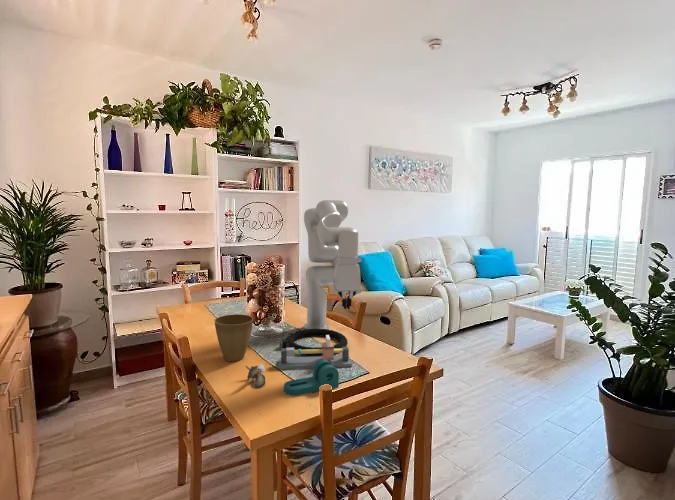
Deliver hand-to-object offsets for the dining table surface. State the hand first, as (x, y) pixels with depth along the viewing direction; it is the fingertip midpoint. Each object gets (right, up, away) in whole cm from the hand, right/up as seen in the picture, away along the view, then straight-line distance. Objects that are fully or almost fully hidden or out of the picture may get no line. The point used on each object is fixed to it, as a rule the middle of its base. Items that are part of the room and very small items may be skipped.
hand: (346, 308), depth 146 cm
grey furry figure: (-32, -24, -16) cm, 43 cm away
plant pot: (-45, -21, +5) cm, 50 cm away
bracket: (-13, -25, -18) cm, 33 cm away
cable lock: (-14, -20, +21) cm, 32 cm away
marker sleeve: (-7, -20, +1) cm, 21 cm away
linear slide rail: (-12, -22, +1) cm, 25 cm away
